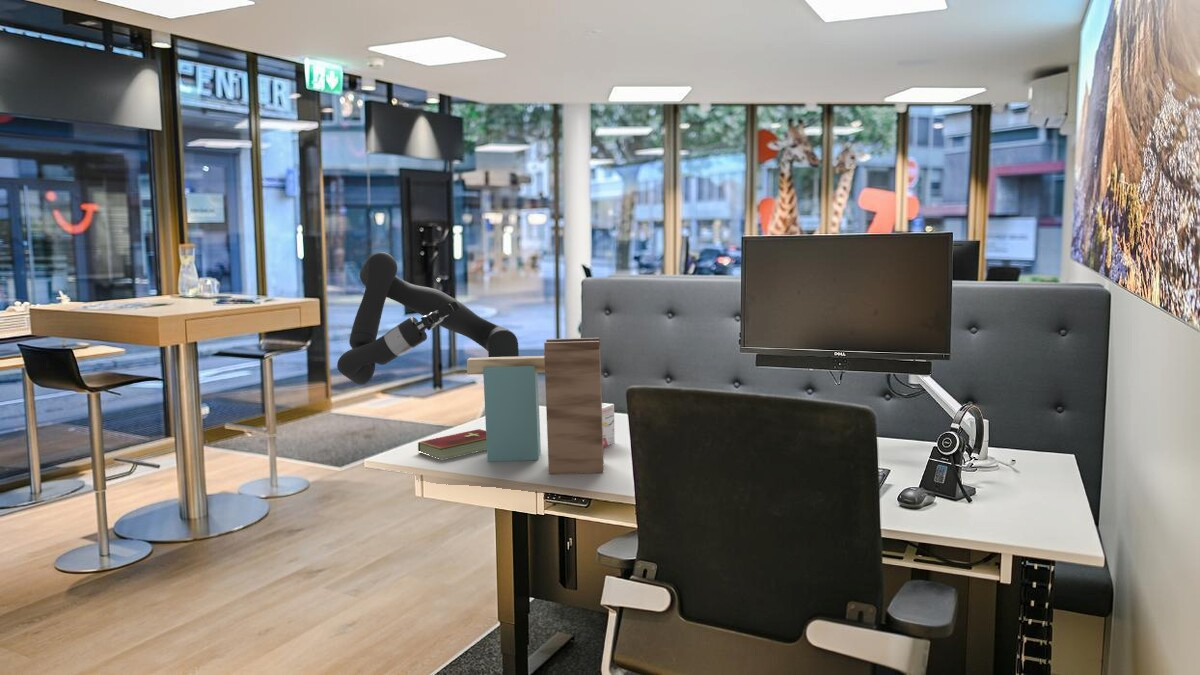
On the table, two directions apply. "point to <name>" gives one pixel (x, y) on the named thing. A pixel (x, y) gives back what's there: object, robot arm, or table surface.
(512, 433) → the teal tall block
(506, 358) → the oak block
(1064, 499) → the table surface
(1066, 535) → the table surface
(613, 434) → the ink cartridge box
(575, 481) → the table surface
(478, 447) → the hardcover book
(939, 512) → the table surface
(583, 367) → the walnut stand
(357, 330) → the robot arm
